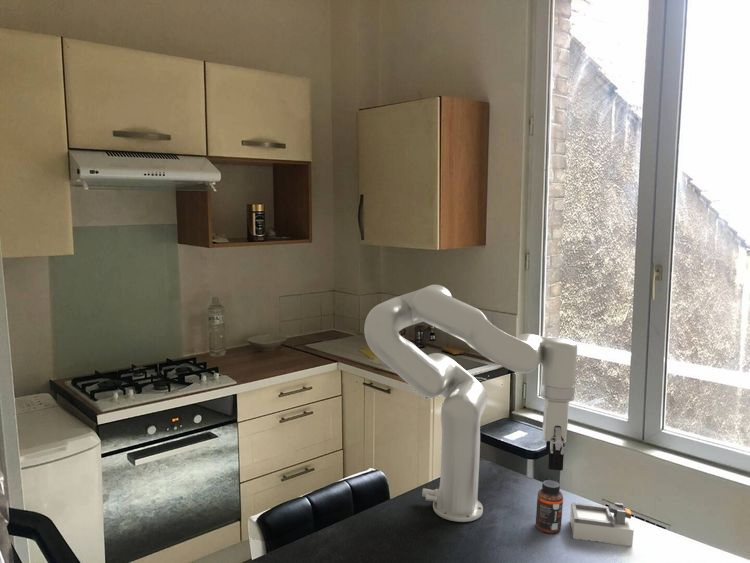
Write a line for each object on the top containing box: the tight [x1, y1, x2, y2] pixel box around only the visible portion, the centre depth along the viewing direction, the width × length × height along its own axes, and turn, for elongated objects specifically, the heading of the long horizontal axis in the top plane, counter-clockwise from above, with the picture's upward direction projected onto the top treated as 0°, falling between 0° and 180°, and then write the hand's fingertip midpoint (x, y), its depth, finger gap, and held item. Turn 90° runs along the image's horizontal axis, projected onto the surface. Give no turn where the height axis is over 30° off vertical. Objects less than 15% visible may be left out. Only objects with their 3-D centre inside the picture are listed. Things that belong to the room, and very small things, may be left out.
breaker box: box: [569, 502, 635, 547], centre depth 146 cm, size 13×8×7 cm, turn 78°
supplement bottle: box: [535, 479, 564, 534], centre depth 148 cm, size 6×6×11 cm
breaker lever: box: [607, 503, 633, 519], centre depth 145 cm, size 5×2×1 cm, turn 78°
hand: (553, 460), depth 146 cm, fingers open, 9 cm apart
